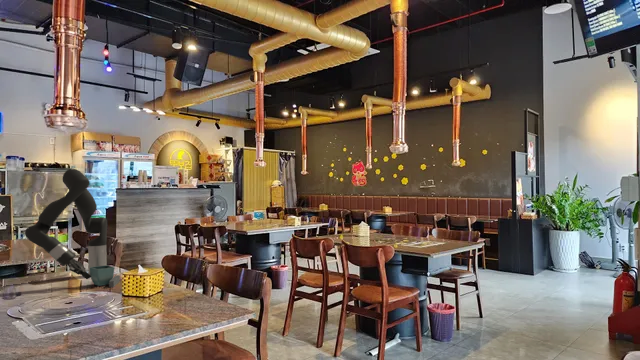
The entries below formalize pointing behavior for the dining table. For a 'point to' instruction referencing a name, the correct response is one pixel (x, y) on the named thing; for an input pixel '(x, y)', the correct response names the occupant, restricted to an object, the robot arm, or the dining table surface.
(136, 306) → the dining table surface
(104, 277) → the flower pot
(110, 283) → the bumper bar
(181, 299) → the dining table surface
